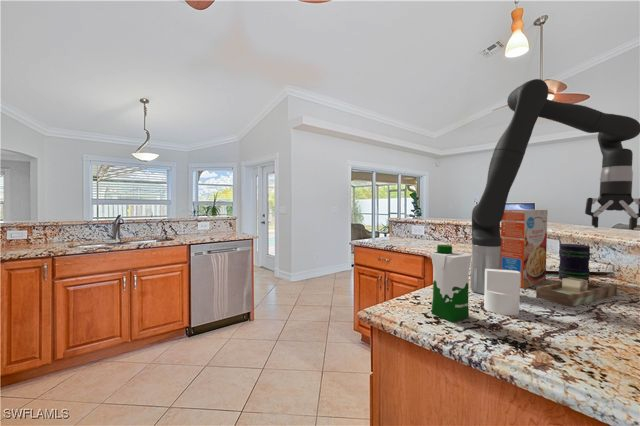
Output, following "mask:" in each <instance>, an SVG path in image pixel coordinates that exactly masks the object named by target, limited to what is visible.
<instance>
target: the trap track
mask: <svg viewBox="0 0 640 426" xmlns="http://www.w3.org/2000/svg"><path fill="white" fill-rule="evenodd" d="M581 279H582V280H585V279H583V278H581ZM535 288H536V292H535V293H536V295H535V298H537V299H540V300H545V301H549V302H552V303H556V304H560V305H564V306H567V307H570V308H572V307H576V306H581V305H583V304H587V303H591V302H594V301H598V300H603V299H605V298H609V297H613V296H617V291H618V289H617V288H618V285H617V284H614V283H613V284H609V285H605V286H603V285H597V284H592V283H588V286H587V291H582V292H578V293H573V292H569V291H565V290H562V281H561V282H556V283H552V284H547V285H541V286H537V287H535Z"/></svg>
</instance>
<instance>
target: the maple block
mask: <svg viewBox="0 0 640 426" xmlns="http://www.w3.org/2000/svg"><path fill="white" fill-rule="evenodd" d="M561 282H562V290H565V291H569V292H573V293H578V292H582V291H587V286H588V284H589V283H588V281H587V280H582V279H577V278H572V277H568V278H563V279H562V280H561Z"/></svg>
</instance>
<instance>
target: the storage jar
mask: <svg viewBox="0 0 640 426" xmlns="http://www.w3.org/2000/svg"><path fill="white" fill-rule="evenodd" d="M558 254H559V255H558V257H559V265H558V279H559V280H560V281H562V279H563V278H568V277H572V278H577V279H581V278H583V279H585V280H587V281H588V282H589V283H590V275H591V274H590V273H591V272H590V271H591V270H590V260H591V246H590V245H585V244H577V243H559V251H558Z"/></svg>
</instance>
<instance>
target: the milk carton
mask: <svg viewBox="0 0 640 426" xmlns="http://www.w3.org/2000/svg"><path fill="white" fill-rule="evenodd" d="M436 248H437V249H436V252H435V251H434V252H431V253H430V255H431V262H432V267H433V268H432V272H433V277H432V279H433V280H432V301H431V302H432V304H431V314H432V315H433V316H436V317H439V318H441V319H444V320H446V321H447V322H451V323H455V322H459V321H462V320H466V319H470V313H469V312H470V311H469V309H470V308H469V307H470V306H469V282H470V281H469V280H470V279H469V277H470V268H471V262H472V254H465V253H463V252H454V251H453V245H448V244H438V245H436Z"/></svg>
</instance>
